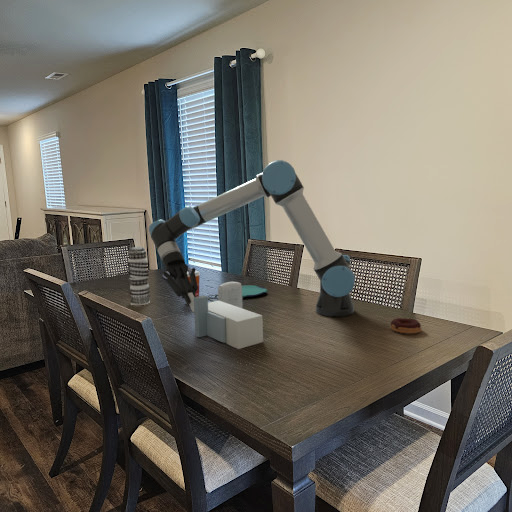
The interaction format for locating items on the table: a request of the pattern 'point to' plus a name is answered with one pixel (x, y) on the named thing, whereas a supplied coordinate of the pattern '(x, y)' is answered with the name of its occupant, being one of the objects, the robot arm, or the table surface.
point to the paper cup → (196, 280)
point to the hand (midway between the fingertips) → (196, 310)
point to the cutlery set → (248, 291)
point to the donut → (405, 325)
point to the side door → (208, 321)
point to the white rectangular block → (239, 324)
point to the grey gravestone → (231, 293)
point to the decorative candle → (138, 276)
